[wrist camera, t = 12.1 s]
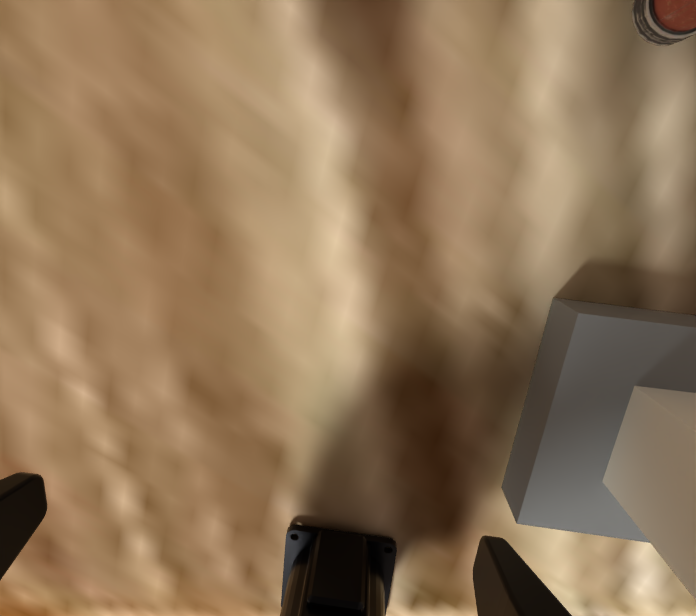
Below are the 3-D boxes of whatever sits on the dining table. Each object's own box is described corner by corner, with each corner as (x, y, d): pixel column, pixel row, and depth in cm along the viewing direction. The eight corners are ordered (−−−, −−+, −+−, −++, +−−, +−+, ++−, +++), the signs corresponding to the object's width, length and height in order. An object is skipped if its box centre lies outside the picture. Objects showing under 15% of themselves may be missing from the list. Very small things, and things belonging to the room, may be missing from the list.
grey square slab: (696, 508, 22) (744, 556, 19) (498, 481, 23) (516, 523, 20) (780, 323, 19) (852, 347, 16) (548, 295, 19) (578, 313, 17)
